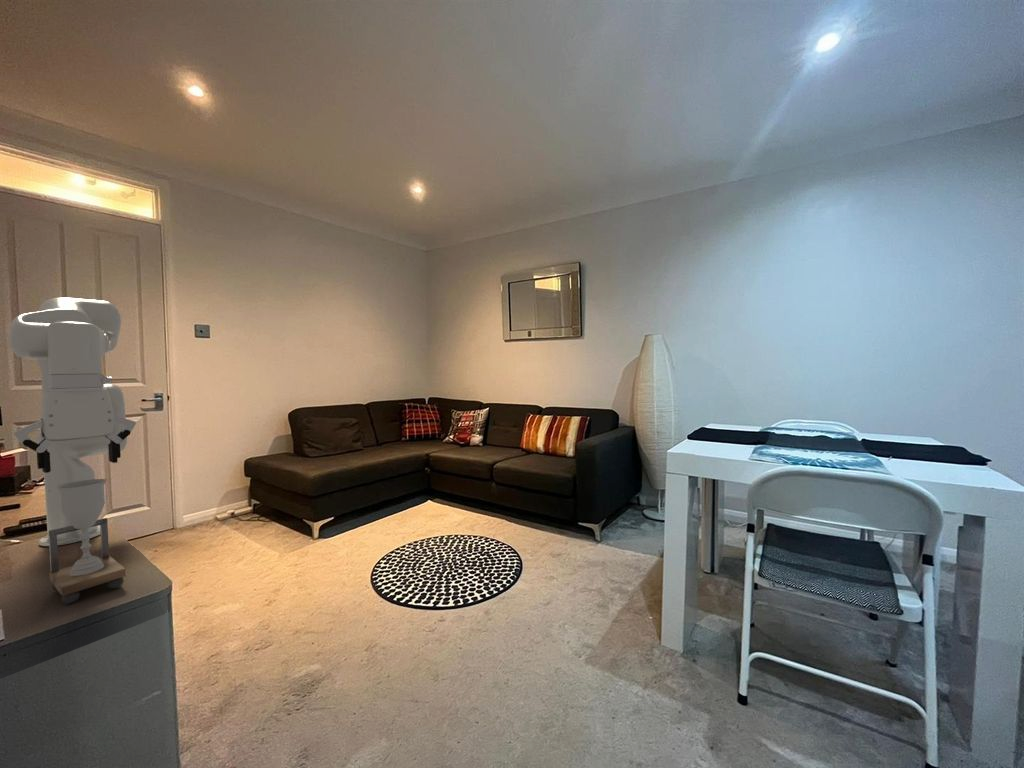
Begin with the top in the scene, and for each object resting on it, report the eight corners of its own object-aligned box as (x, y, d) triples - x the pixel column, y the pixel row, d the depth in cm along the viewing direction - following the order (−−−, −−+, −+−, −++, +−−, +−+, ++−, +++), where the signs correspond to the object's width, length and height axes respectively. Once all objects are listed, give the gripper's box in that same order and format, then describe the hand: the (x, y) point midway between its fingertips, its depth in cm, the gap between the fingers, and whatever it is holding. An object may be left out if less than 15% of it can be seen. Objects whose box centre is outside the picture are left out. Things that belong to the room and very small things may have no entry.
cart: (50, 590, 85) (46, 530, 85) (110, 572, 93) (107, 517, 92) (62, 608, 78) (59, 542, 78) (126, 587, 86) (123, 527, 85)
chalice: (53, 581, 81) (47, 489, 80) (72, 566, 87) (67, 481, 87) (102, 573, 84) (97, 484, 83) (118, 559, 90) (113, 477, 90)
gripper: (127, 381, 94) (131, 457, 94) (7, 385, 79) (13, 473, 80) (138, 381, 89) (142, 460, 90) (13, 385, 75) (19, 478, 76)
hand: (81, 466), depth 85 cm, fingers open, 9 cm apart
